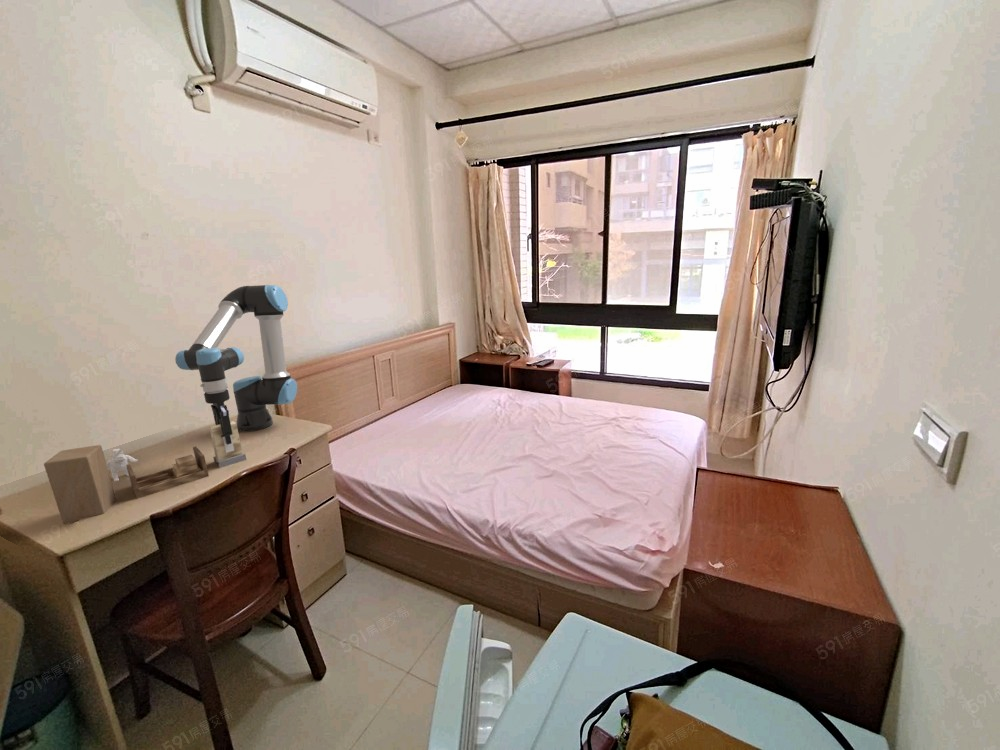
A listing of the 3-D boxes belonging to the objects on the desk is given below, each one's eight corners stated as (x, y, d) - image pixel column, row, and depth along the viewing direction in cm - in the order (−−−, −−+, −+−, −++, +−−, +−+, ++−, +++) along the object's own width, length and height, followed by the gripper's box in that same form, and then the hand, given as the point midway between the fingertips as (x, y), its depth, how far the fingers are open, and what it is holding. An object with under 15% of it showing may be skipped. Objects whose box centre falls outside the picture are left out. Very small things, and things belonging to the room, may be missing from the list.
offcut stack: (196, 469, 160) (193, 452, 158) (202, 475, 154) (198, 459, 153) (173, 475, 155) (169, 459, 153) (178, 483, 149) (174, 466, 148)
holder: (241, 455, 173) (239, 447, 172) (249, 462, 166) (248, 454, 165) (212, 463, 166) (210, 456, 165) (219, 471, 159) (218, 463, 158)
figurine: (113, 487, 150) (104, 456, 147) (104, 484, 153) (95, 452, 150) (144, 476, 158) (136, 445, 155) (134, 472, 161) (126, 442, 158)
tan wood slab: (240, 454, 170) (233, 421, 166) (243, 457, 167) (236, 423, 163) (216, 461, 164) (209, 427, 160) (219, 464, 161) (212, 429, 158)
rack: (200, 468, 162) (195, 446, 160) (209, 478, 154) (204, 455, 152) (132, 489, 149) (126, 465, 146) (137, 501, 140) (131, 476, 138)
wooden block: (78, 508, 137) (60, 450, 132) (118, 500, 141) (101, 444, 136) (62, 525, 129) (42, 463, 123) (105, 516, 132) (87, 456, 127)
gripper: (198, 389, 162) (210, 446, 168) (210, 397, 150) (223, 459, 156) (221, 384, 167) (232, 440, 173) (234, 392, 155) (246, 452, 161)
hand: (228, 449), depth 164 cm, fingers closed on tan wood slab, 4 cm apart
